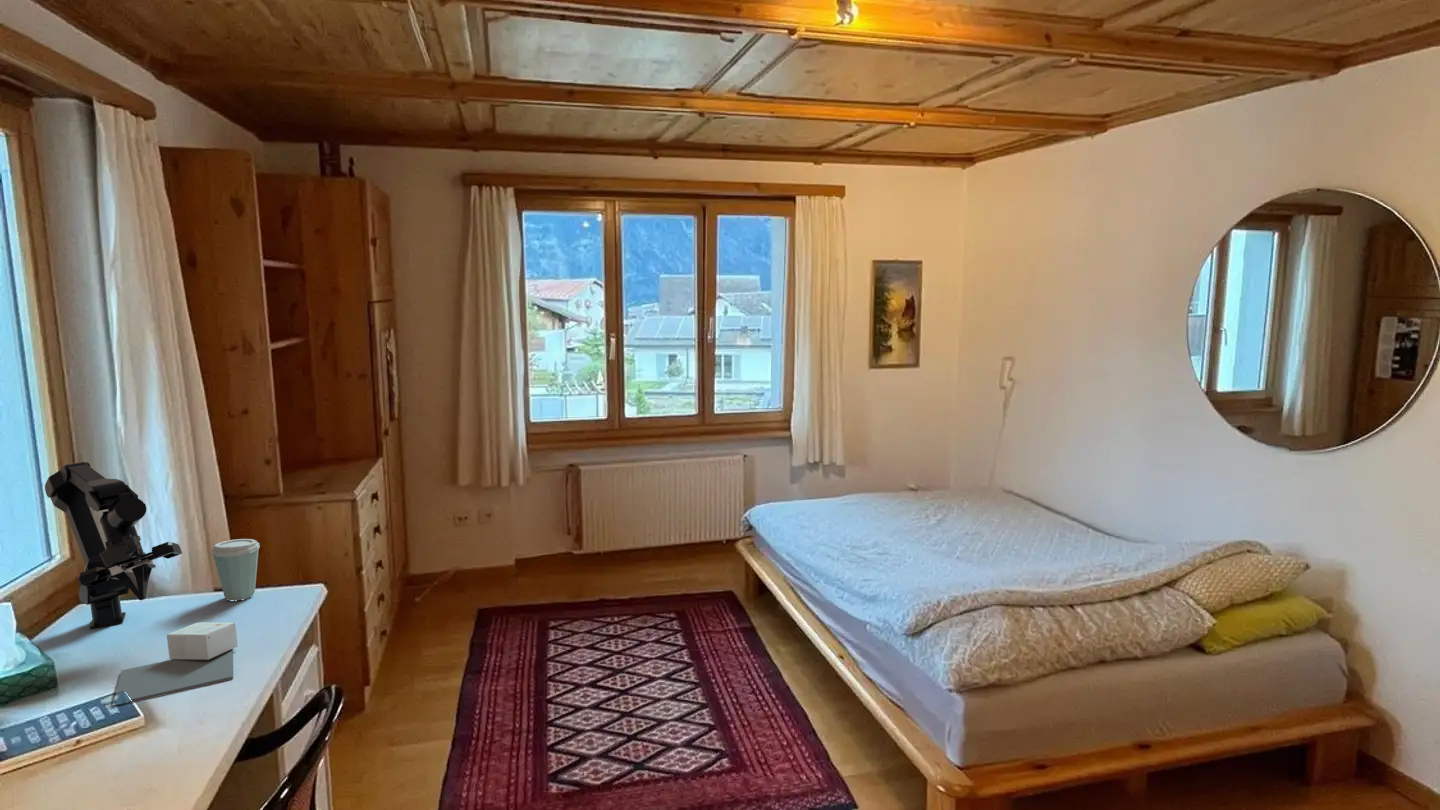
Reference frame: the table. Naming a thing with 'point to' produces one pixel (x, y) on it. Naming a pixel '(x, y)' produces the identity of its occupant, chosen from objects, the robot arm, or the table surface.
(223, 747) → the table surface
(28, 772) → the table surface
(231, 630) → the small box
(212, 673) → the charcoal mat
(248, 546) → the disposable coffee cup
